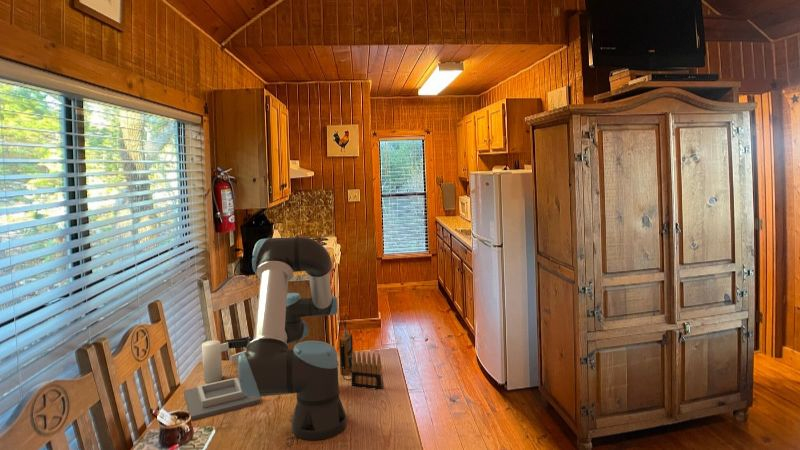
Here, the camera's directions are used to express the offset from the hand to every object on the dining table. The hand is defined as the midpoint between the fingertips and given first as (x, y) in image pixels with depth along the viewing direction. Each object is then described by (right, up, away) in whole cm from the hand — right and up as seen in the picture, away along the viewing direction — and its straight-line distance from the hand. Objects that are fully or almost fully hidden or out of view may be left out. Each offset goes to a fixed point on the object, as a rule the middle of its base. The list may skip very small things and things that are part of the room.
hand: (220, 355), depth 167 cm
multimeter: (+48, -6, +1) cm, 49 cm away
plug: (-2, -8, -2) cm, 8 cm away
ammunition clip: (+53, -7, -12) cm, 55 cm away
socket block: (+7, -9, -17) cm, 20 cm away
